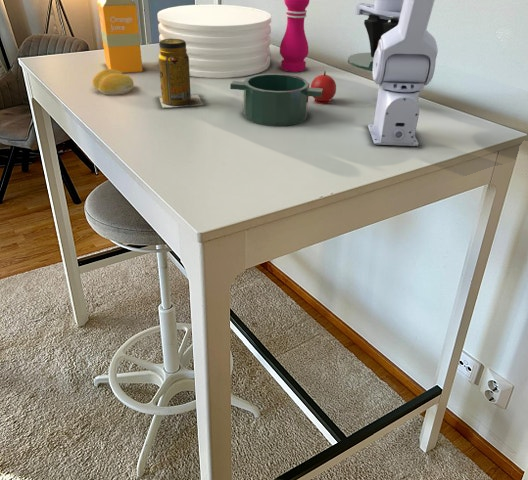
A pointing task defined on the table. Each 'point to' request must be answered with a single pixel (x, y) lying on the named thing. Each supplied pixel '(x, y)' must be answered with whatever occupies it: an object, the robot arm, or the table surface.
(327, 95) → the apple
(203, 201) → the table surface
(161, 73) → the condiment
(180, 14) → the plate stack
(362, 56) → the lid
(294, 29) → the pepper mill
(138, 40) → the orange juice
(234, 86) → the pot
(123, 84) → the bread roll
